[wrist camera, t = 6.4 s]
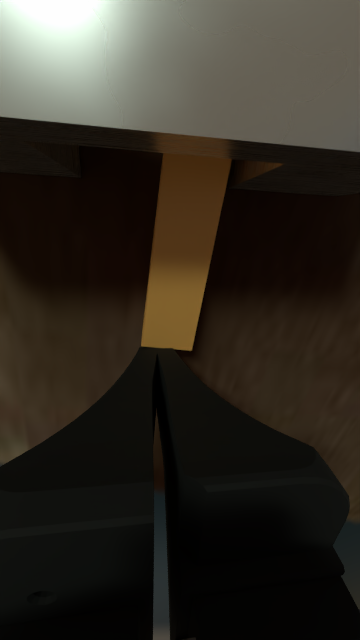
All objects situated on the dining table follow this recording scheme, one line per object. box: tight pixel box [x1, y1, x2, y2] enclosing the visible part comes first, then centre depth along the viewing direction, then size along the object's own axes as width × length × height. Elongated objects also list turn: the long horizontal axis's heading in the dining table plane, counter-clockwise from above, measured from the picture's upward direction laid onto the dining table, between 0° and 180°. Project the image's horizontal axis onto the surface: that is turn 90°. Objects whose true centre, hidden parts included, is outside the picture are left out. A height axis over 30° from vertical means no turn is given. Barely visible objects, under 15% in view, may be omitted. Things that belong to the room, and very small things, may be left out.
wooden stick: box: [141, 153, 232, 351], centre depth 7 cm, size 17×3×3 cm, turn 170°
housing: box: [0, 0, 360, 196], centre depth 5 cm, size 15×5×5 cm, turn 87°
